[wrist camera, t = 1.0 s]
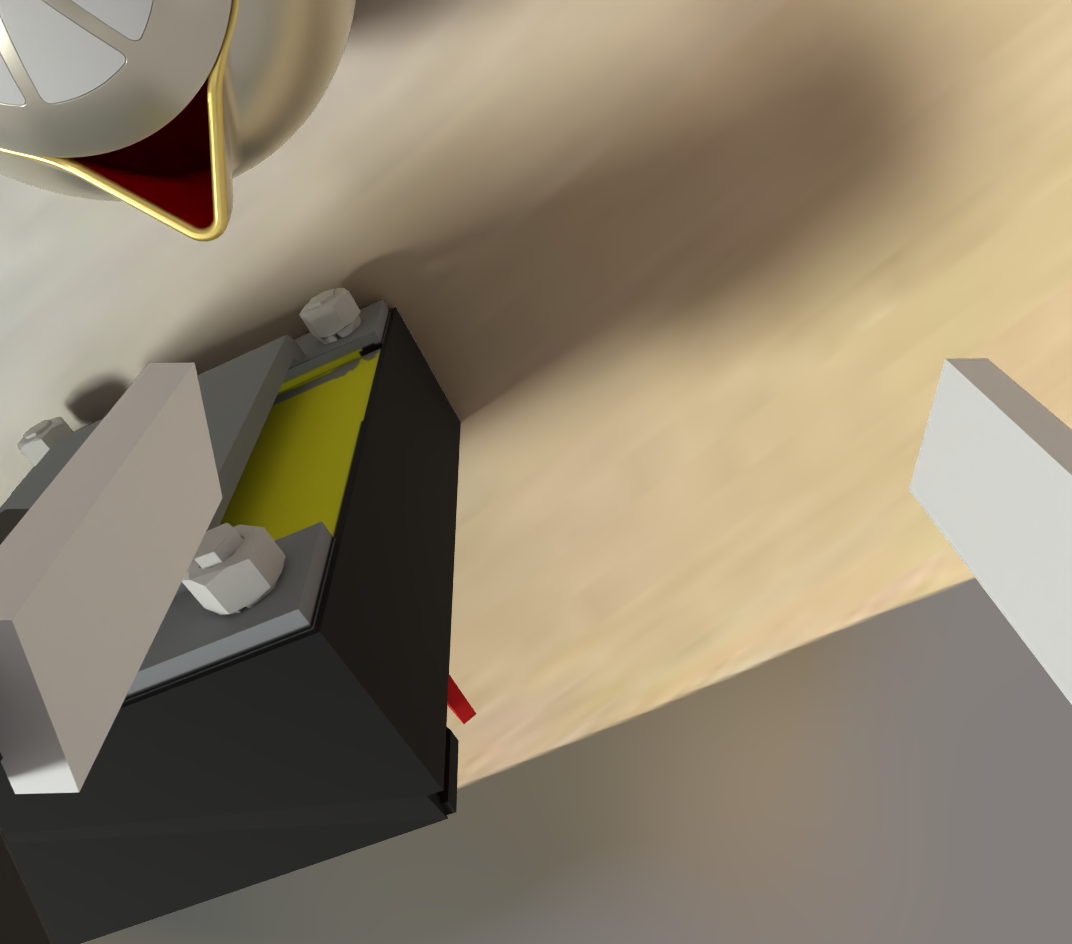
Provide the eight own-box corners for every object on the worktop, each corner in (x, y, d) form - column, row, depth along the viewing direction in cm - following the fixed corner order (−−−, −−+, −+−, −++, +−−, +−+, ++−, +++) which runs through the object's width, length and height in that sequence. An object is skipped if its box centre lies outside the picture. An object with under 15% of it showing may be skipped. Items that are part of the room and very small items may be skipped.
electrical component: (370, 260, 36) (266, 561, 19) (479, 455, 41) (476, 831, 24) (19, 423, 39) (-346, 810, 22) (161, 585, 44) (-44, 1002, 27)
